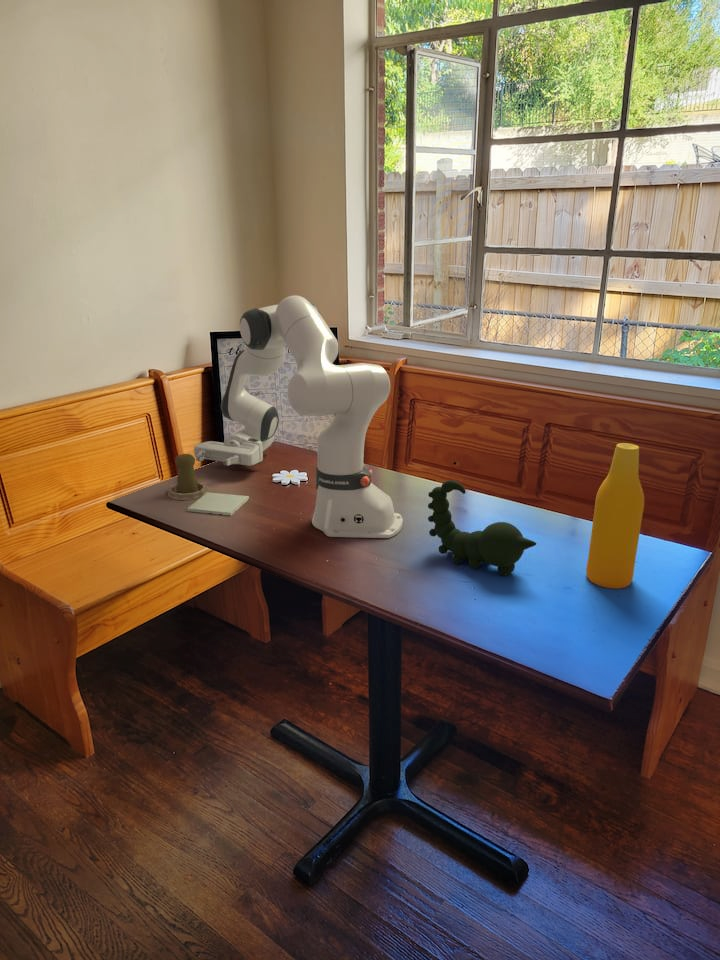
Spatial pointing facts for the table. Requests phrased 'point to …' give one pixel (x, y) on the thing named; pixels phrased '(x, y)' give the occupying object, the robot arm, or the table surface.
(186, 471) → the cork
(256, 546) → the table surface
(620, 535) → the beer bottle
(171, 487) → the ring
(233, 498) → the ceramic tile
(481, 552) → the toy figurine
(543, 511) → the table surface
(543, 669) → the table surface
